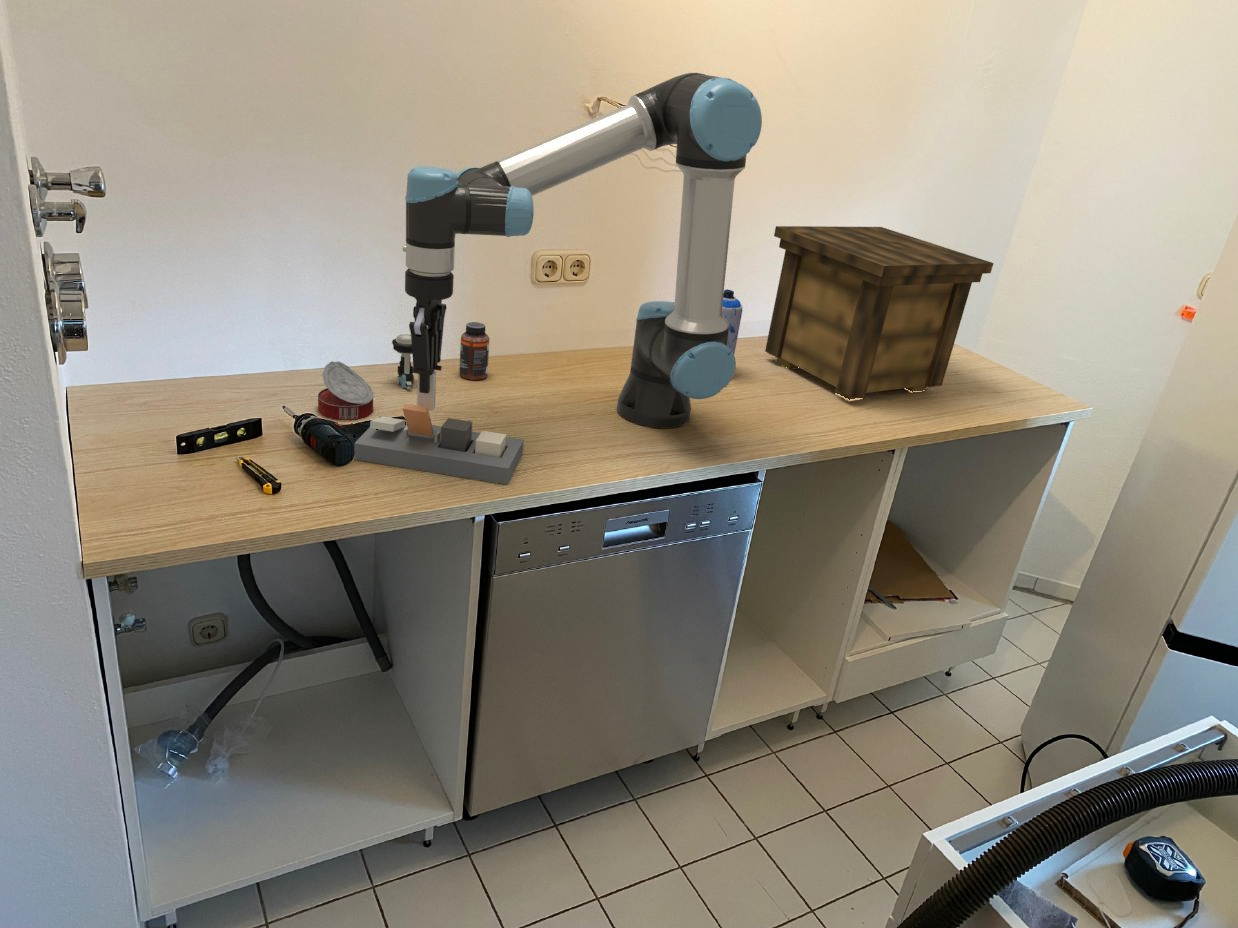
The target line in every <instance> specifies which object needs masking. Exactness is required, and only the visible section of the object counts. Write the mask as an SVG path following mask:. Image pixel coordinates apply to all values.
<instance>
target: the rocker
mask: <svg viewBox="0 0 1238 928" xmlns="http://www.w3.org/2000/svg"><path fill="white" fill-rule="evenodd" d="M379 417H380V418H379ZM379 417H378V418H375V419H372V420H370V424H369V428H374V429H380V430H386V431H392V432H394V431H396V430H398V429H401V428H403V427H404V426H405V421H406V420H405V419H400V418H393V417H388V416H379Z"/></svg>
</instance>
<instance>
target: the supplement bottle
mask: <svg viewBox="0 0 1238 928" xmlns="http://www.w3.org/2000/svg"><path fill="white" fill-rule="evenodd" d="M459 346H460V347H459V348H460V350H459V351H460V352H459V368H458V371H459V373H458V374H459V375H460V377H462V378H463V379H465V380H471V381H478V380H479V381H480V380H483V379H486V378H487V376H488V373H489V354H490V337H489V335H488V334H487V333H486V324H484V323H482V322H479V321H472V322H467V323H466V325H465V331H464V332H463V333H462V334H461V337H460V345H459Z"/></svg>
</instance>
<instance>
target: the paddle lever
mask: <svg viewBox="0 0 1238 928" xmlns="http://www.w3.org/2000/svg"><path fill="white" fill-rule="evenodd" d="M402 412H403V416H404V420H405V421H406V423H407V427H408V435H409V436H416V437H422V438H428V439H434V437H435V432H434V431H433V427H432V425H433V424H432V419H431V414H430V410H428V407H422V406H417V405H414V404H408V403H404V404H403V406H402Z"/></svg>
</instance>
